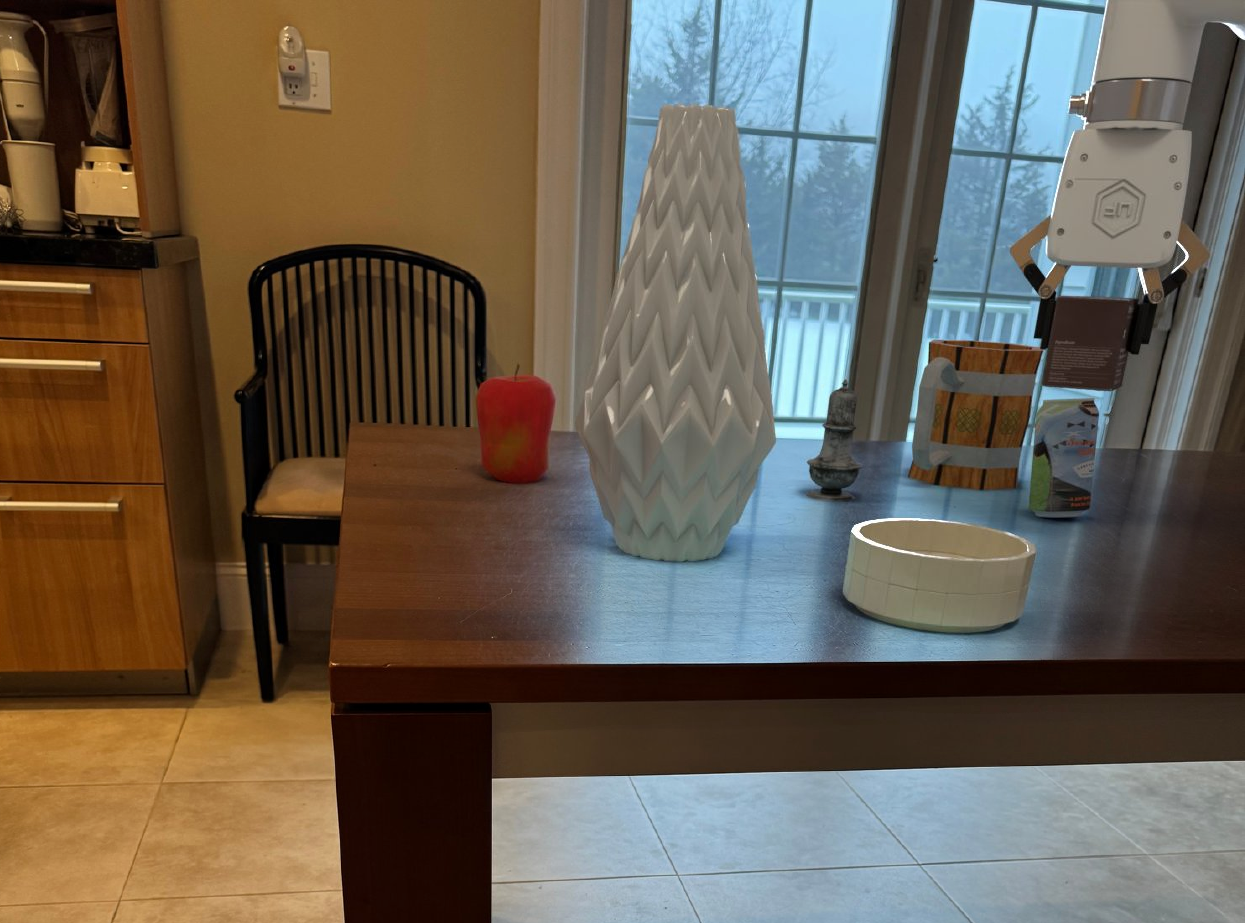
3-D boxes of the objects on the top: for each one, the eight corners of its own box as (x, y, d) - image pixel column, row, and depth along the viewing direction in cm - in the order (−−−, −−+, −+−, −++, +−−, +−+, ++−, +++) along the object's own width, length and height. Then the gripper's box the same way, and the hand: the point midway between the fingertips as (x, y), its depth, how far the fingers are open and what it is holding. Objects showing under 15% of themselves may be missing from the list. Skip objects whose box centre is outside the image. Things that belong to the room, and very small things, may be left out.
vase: (580, 523, 110) (593, 112, 95) (757, 534, 109) (799, 122, 94) (561, 567, 95) (574, 88, 80) (767, 580, 94) (819, 100, 79)
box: (1111, 393, 100) (1130, 298, 97) (1039, 387, 103) (1055, 295, 99) (1122, 387, 105) (1141, 297, 102) (1053, 382, 107) (1069, 294, 104)
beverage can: (1068, 527, 119) (1096, 402, 113) (1004, 513, 124) (1028, 392, 118) (1098, 520, 123) (1126, 399, 117) (1035, 507, 127) (1059, 390, 122)
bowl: (1019, 600, 93) (1034, 530, 90) (1020, 647, 81) (1037, 569, 79) (852, 579, 96) (862, 511, 93) (831, 622, 85) (841, 546, 82)
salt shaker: (842, 505, 123) (858, 383, 118) (793, 496, 126) (806, 377, 121) (867, 498, 127) (884, 380, 122) (819, 489, 131) (833, 374, 125)
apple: (516, 469, 132) (517, 357, 127) (570, 481, 128) (574, 365, 122) (459, 477, 126) (458, 360, 121) (514, 490, 122) (515, 368, 116)
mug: (939, 465, 149) (960, 338, 142) (1040, 483, 141) (1068, 348, 134) (857, 482, 136) (876, 342, 129) (963, 502, 128) (990, 354, 121)
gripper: (1023, 106, 93) (984, 348, 101) (1261, 107, 89) (1200, 359, 97) (1023, 116, 100) (986, 343, 108) (1245, 117, 95) (1189, 353, 103)
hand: (1088, 349), depth 102 cm, fingers closed on box, 6 cm apart
